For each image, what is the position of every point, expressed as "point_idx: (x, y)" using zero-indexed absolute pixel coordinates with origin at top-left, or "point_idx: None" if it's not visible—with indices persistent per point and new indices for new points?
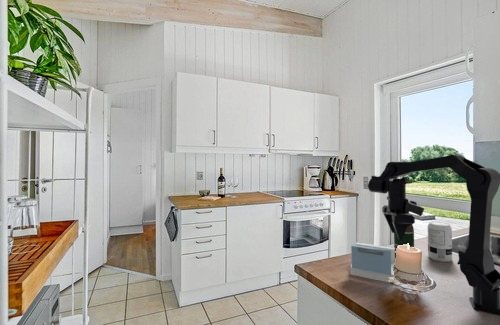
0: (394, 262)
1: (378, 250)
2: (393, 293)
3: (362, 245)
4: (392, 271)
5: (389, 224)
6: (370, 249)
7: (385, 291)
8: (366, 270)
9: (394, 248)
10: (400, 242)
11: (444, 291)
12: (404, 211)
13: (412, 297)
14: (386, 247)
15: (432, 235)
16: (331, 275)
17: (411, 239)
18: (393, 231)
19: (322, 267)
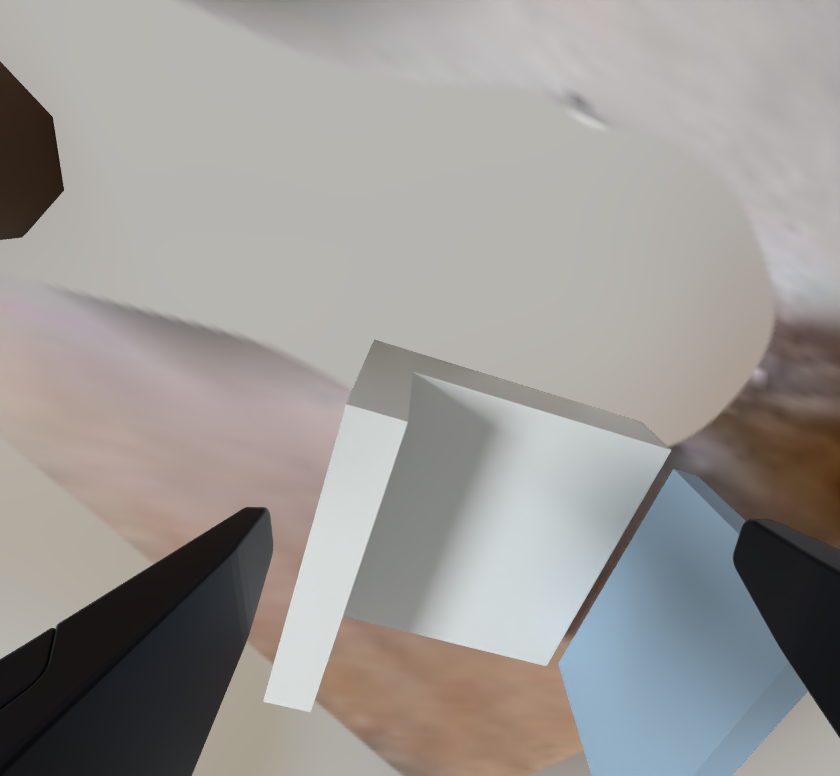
0: (412, 374)
1: (779, 709)
2: (768, 458)
3: (326, 663)
4: (611, 442)
5: (185, 769)
6: (734, 757)
7: (743, 493)
8: (585, 587)
9: (367, 412)
10: None
11: (759, 100)
12: None
13: (824, 369)
14: (350, 485)
15: None
16: (557, 699)
17: None
18: (263, 552)
19: (457, 727)
